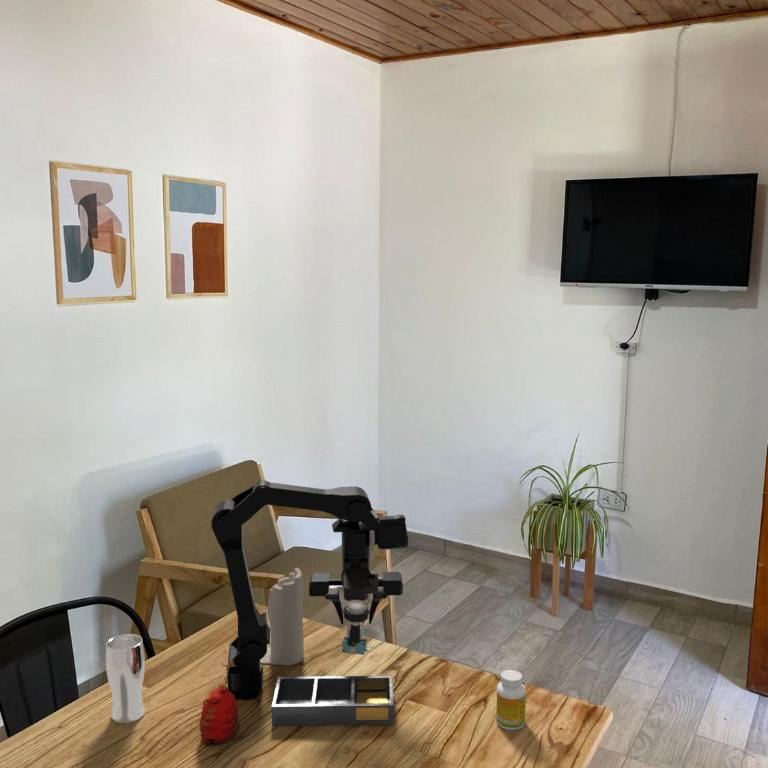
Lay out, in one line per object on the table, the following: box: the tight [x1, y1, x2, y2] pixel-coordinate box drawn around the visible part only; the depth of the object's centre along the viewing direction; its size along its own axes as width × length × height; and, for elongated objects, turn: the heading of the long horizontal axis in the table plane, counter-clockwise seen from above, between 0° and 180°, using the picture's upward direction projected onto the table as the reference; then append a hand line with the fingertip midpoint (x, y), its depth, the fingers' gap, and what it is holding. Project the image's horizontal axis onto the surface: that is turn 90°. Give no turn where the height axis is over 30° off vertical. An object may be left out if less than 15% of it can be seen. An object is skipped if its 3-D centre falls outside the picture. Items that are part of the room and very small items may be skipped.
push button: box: [341, 601, 375, 656], centre depth 161 cm, size 7×5×10 cm
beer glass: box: [105, 633, 146, 724], centre depth 150 cm, size 7×7×15 cm
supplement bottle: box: [495, 669, 527, 731], centre depth 147 cm, size 5×5×10 cm
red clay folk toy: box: [198, 659, 240, 745], centre depth 143 cm, size 8×7×15 cm
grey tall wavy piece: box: [260, 567, 305, 666], centre depth 171 cm, size 7×14×20 cm, turn 82°
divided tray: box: [271, 675, 395, 727], centre depth 152 cm, size 23×11×4 cm, turn 91°
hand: (356, 623), depth 160 cm, fingers closed on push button, 5 cm apart
